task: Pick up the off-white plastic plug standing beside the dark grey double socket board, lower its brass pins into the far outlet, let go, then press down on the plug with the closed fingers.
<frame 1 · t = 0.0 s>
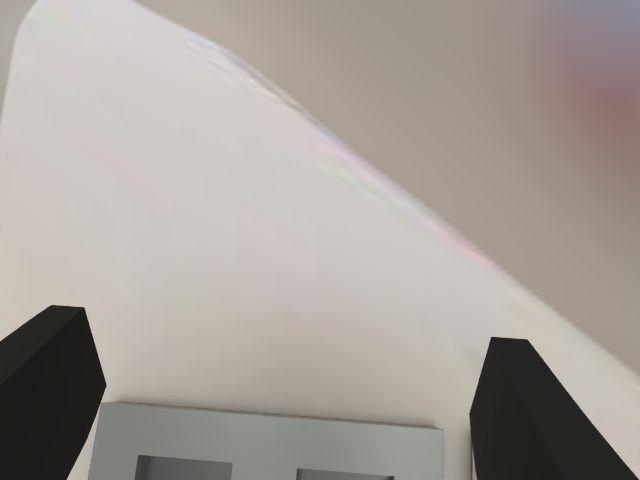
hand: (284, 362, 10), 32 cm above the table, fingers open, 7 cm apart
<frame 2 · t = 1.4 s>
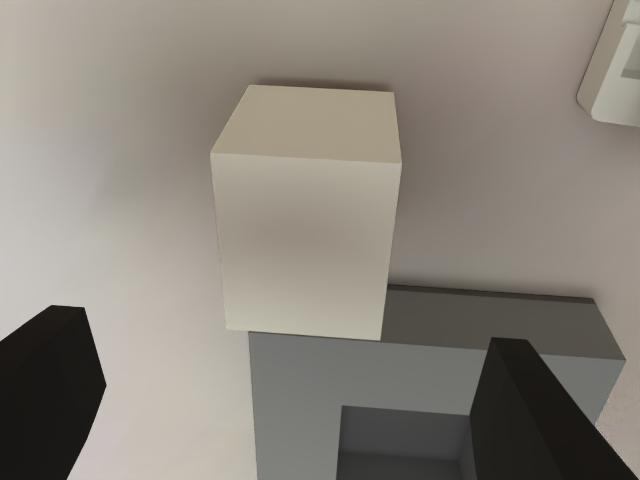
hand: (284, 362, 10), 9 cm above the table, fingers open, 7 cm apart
plug: (321, 155, 17), on the table
socket board: (392, 478, 26), on the table
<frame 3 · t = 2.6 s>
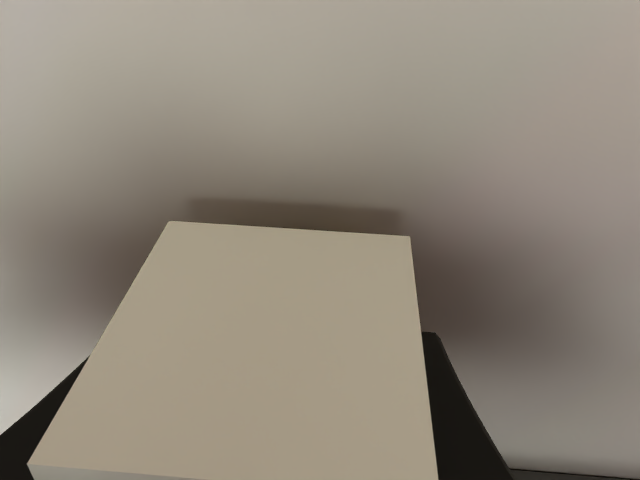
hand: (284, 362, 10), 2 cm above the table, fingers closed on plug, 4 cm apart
plug: (294, 304, 11), on the table, touching gripper
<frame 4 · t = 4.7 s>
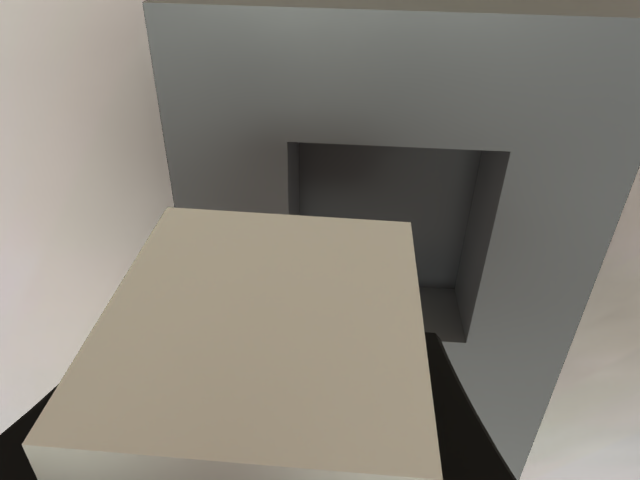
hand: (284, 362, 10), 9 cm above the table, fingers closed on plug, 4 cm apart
plug: (294, 293, 11), point 7 cm above the table, touching gripper
socket board: (372, 324, 21), on the table
when the fingers open (4 cm above the table, at t = 7.0 s): plug drops 2 cm, resting on socket board.
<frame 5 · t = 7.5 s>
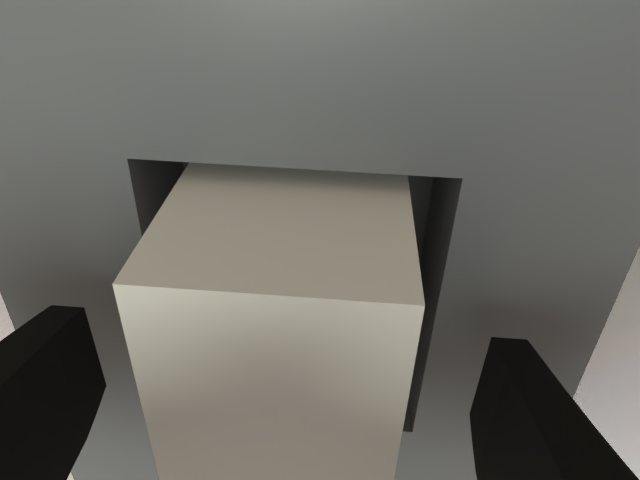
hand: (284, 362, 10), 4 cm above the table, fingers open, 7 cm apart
plug: (305, 227, 13), resting on socket board
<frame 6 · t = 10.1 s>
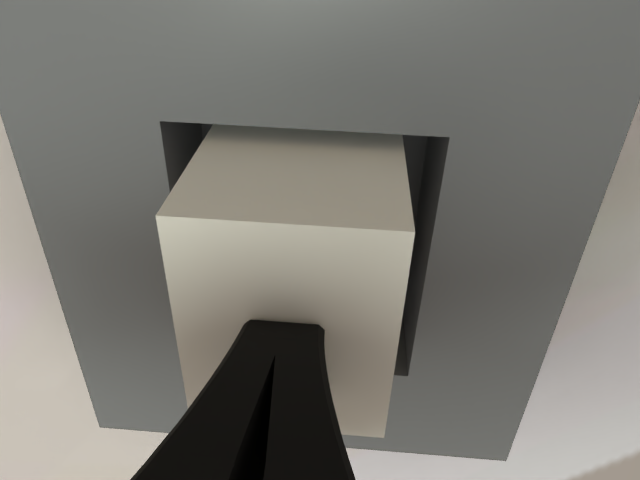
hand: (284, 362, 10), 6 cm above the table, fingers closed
plug: (311, 193, 14), resting on socket board
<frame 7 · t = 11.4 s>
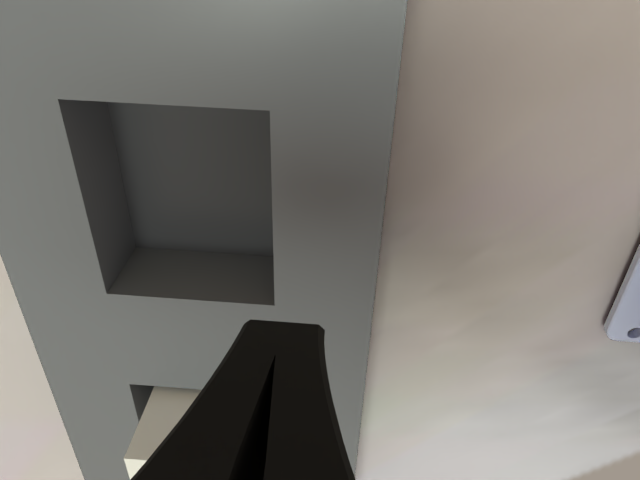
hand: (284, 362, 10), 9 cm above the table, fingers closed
plug: (224, 385, 24), resting on socket board
socket board: (216, 293, 21), on the table
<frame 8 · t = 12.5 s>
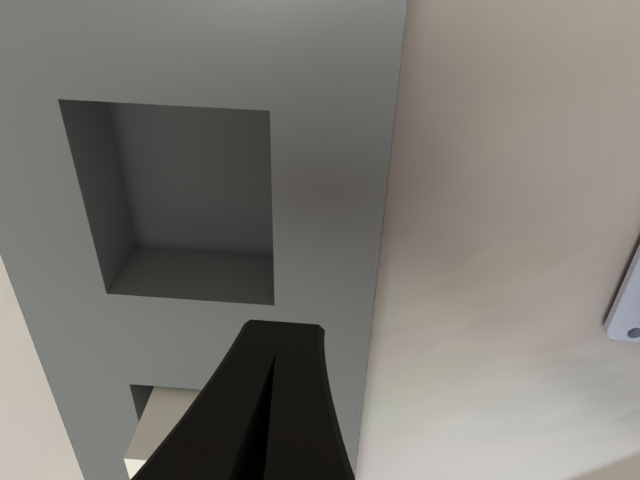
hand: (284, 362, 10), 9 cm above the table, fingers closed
plug: (224, 385, 24), resting on socket board
socket board: (216, 293, 21), on the table
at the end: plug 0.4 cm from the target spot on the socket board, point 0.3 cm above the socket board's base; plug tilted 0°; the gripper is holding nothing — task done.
